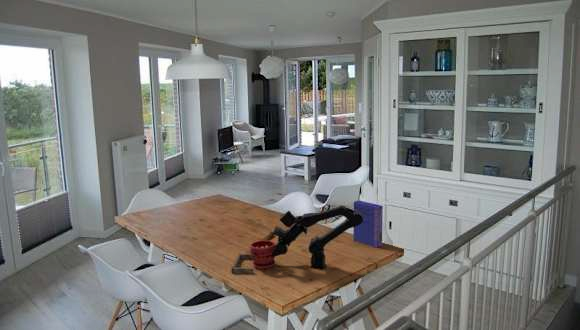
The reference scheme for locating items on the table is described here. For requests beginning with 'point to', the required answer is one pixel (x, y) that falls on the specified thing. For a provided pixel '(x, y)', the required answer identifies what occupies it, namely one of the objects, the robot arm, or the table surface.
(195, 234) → the table surface
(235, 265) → the walnut corral
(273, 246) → the plant pot
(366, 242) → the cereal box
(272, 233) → the primitive tool
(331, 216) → the robot arm
